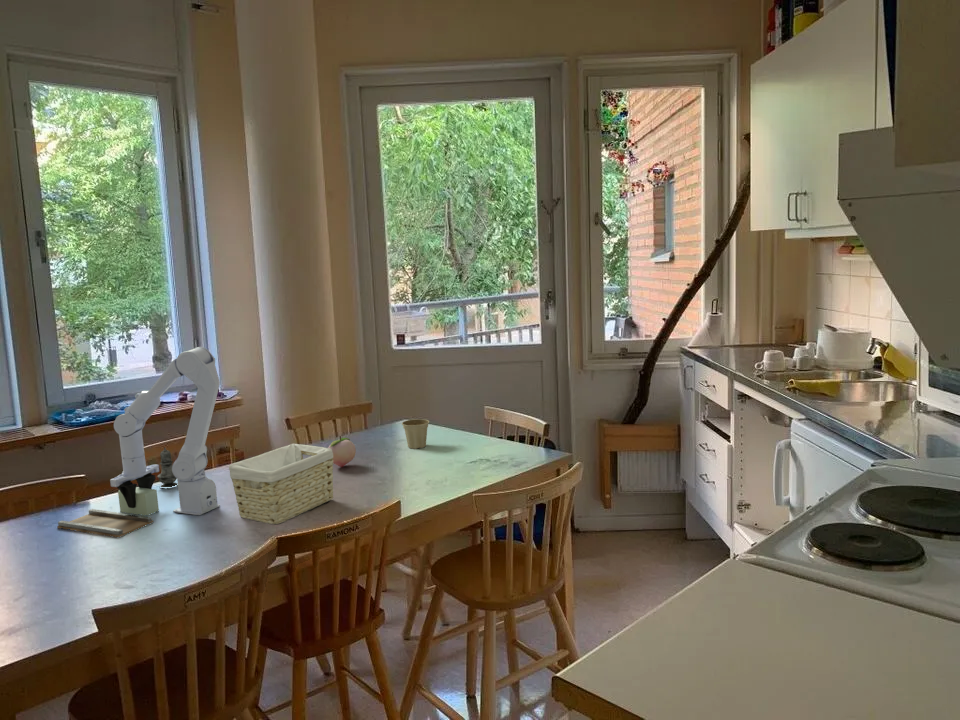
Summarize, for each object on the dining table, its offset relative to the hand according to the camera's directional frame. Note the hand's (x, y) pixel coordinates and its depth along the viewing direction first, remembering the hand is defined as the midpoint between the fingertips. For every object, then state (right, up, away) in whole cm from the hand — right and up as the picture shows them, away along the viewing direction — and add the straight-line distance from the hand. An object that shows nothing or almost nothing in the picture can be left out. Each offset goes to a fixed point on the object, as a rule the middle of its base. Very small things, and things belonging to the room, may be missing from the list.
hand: (138, 504), depth 212 cm
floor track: (-4, -4, -10) cm, 11 cm away
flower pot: (+71, +9, +55) cm, 90 cm away
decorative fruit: (+50, +5, +34) cm, 61 cm away
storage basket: (+41, -1, -3) cm, 41 cm away
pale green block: (0, -2, 0) cm, 2 cm away
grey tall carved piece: (-1, +1, +22) cm, 22 cm away
